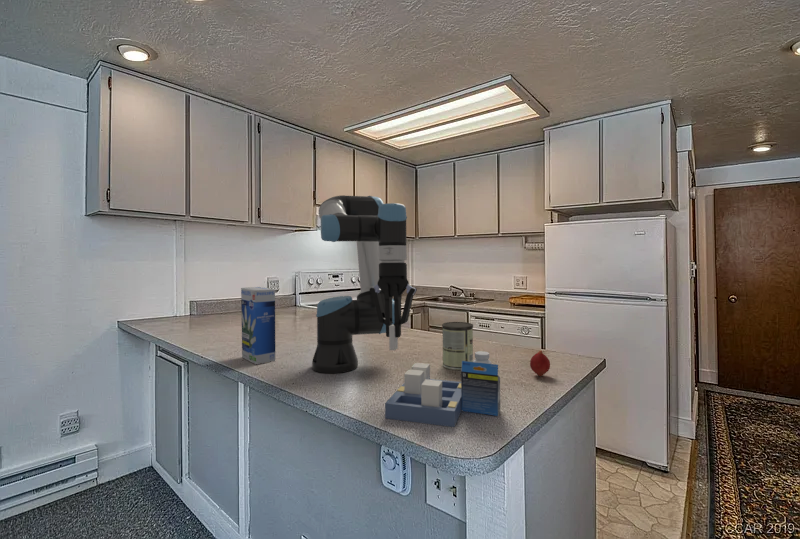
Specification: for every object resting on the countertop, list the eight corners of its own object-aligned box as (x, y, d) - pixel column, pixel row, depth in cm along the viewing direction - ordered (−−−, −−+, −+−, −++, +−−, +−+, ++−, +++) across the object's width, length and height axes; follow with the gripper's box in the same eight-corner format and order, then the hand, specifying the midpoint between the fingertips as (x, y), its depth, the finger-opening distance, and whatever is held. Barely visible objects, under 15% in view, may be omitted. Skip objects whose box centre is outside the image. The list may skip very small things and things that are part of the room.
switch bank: (385, 418, 90) (385, 402, 90) (409, 389, 109) (409, 376, 109) (454, 427, 85) (454, 410, 85) (467, 395, 104) (467, 381, 104)
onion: (526, 376, 121) (526, 350, 120) (534, 372, 125) (534, 347, 124) (545, 380, 117) (545, 353, 116) (553, 375, 121) (553, 350, 120)
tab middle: (404, 398, 97) (404, 374, 97) (409, 392, 101) (408, 369, 101) (420, 399, 96) (420, 375, 96) (424, 394, 100) (424, 370, 100)
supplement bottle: (468, 385, 113) (468, 351, 112) (484, 382, 115) (484, 349, 114) (479, 391, 108) (479, 356, 107) (495, 388, 110) (495, 354, 109)
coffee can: (442, 361, 138) (442, 321, 137) (471, 361, 137) (471, 321, 136) (442, 369, 128) (442, 326, 127) (474, 370, 127) (474, 327, 126)
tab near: (421, 410, 89) (421, 384, 89) (425, 404, 93) (425, 379, 93) (438, 412, 88) (438, 386, 88) (442, 406, 92) (442, 380, 92)
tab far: (411, 389, 103) (411, 366, 103) (415, 384, 107) (415, 362, 107) (426, 390, 102) (426, 368, 102) (430, 385, 106) (429, 363, 106)
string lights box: (241, 357, 144) (239, 287, 143) (261, 354, 150) (260, 286, 149) (256, 365, 135) (254, 290, 134) (277, 360, 140) (276, 288, 139)
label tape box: (500, 410, 94) (500, 360, 94) (498, 417, 90) (498, 364, 90) (464, 405, 98) (464, 356, 97) (460, 411, 94) (460, 360, 93)
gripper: (364, 262, 104) (365, 350, 105) (412, 261, 100) (413, 353, 101) (375, 261, 111) (376, 344, 112) (419, 261, 107) (420, 347, 108)
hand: (393, 349), depth 106 cm, fingers closed
